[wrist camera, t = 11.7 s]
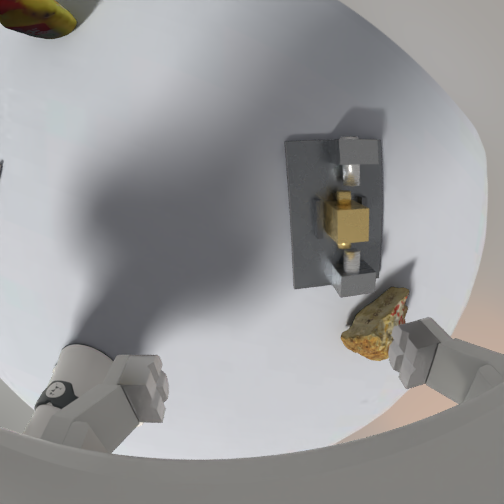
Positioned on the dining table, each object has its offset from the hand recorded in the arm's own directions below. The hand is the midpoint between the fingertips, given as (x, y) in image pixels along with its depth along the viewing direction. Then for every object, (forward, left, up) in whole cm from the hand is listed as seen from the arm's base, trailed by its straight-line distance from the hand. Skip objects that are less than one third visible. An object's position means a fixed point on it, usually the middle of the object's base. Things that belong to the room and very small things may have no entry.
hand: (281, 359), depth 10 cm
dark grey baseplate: (-3, -12, -31) cm, 33 cm away
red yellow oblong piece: (+32, +26, -31) cm, 52 cm away
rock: (-21, -19, -31) cm, 42 cm away
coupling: (-3, -12, -30) cm, 32 cm away
